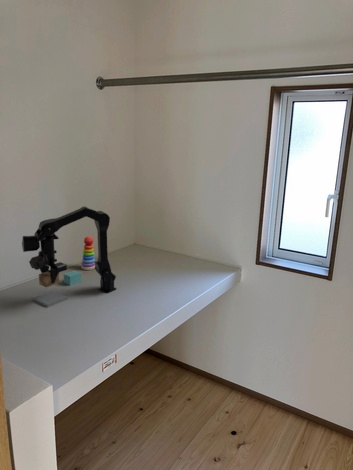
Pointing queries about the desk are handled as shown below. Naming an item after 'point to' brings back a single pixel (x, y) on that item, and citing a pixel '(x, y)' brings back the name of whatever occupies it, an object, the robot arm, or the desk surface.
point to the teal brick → (72, 278)
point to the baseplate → (49, 298)
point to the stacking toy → (88, 254)
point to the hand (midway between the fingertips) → (49, 281)
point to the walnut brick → (47, 279)
